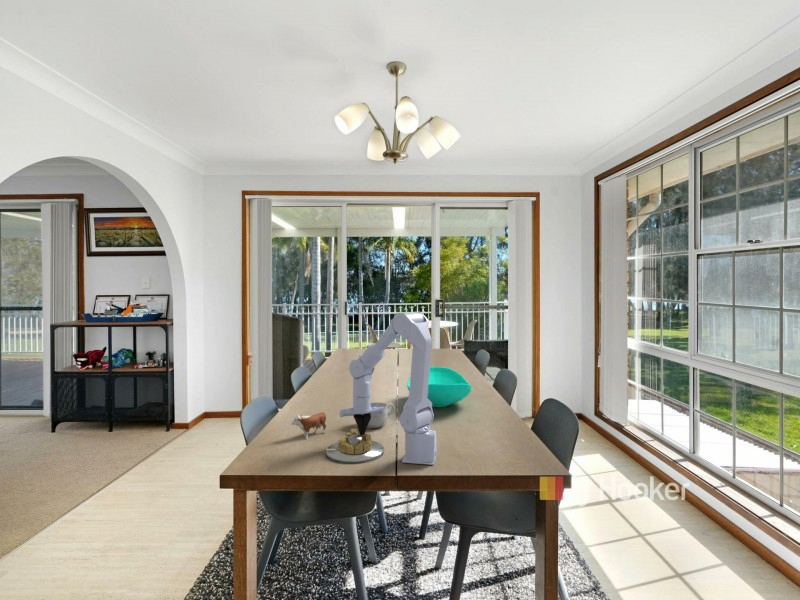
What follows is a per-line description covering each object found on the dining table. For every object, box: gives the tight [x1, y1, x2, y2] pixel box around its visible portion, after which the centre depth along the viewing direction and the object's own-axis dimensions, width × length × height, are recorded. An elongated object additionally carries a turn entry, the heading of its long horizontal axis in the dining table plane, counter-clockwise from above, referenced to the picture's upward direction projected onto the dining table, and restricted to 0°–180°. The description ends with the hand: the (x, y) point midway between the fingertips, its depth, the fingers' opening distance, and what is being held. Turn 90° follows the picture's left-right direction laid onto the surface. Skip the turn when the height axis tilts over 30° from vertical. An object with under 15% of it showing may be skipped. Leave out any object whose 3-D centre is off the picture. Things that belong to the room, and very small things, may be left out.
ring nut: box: [337, 428, 373, 454], centre depth 146 cm, size 10×14×3 cm
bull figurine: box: [291, 412, 327, 440], centre depth 160 cm, size 4×13×8 cm, turn 135°
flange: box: [325, 434, 385, 464], centre depth 144 cm, size 18×18×5 cm
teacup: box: [367, 401, 396, 429], centre depth 171 cm, size 14×11×8 cm
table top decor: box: [406, 366, 473, 408], centre depth 200 cm, size 40×28×13 cm
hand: (362, 436), depth 152 cm, fingers closed
